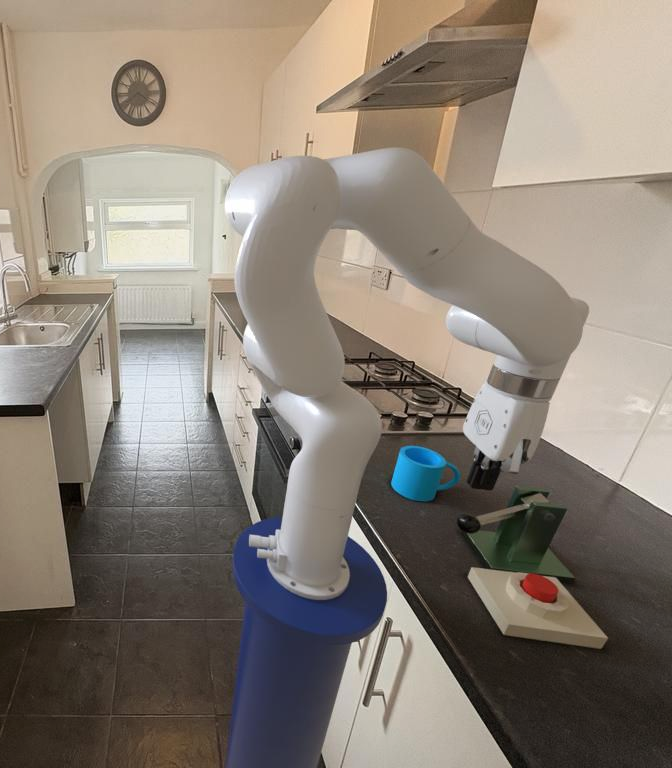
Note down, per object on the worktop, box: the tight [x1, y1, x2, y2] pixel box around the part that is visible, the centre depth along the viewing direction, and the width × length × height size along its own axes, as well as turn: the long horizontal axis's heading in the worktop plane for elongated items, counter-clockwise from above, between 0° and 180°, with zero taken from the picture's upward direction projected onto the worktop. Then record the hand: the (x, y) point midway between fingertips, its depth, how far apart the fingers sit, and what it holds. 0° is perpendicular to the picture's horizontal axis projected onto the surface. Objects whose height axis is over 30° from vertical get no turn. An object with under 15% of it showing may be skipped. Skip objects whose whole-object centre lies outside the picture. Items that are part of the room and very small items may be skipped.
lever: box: [456, 493, 551, 534], centre depth 68 cm, size 13×3×3 cm, turn 79°
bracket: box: [462, 485, 576, 584], centre depth 68 cm, size 12×9×13 cm
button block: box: [467, 566, 609, 650], centre depth 61 cm, size 12×10×4 cm
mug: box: [390, 445, 461, 502], centre depth 86 cm, size 12×8×8 cm
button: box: [522, 574, 558, 603], centre depth 60 cm, size 4×4×2 cm
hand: (478, 486), depth 67 cm, fingers closed
